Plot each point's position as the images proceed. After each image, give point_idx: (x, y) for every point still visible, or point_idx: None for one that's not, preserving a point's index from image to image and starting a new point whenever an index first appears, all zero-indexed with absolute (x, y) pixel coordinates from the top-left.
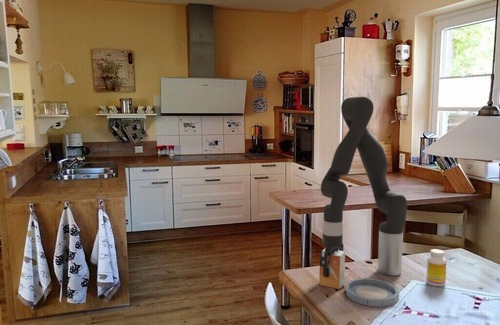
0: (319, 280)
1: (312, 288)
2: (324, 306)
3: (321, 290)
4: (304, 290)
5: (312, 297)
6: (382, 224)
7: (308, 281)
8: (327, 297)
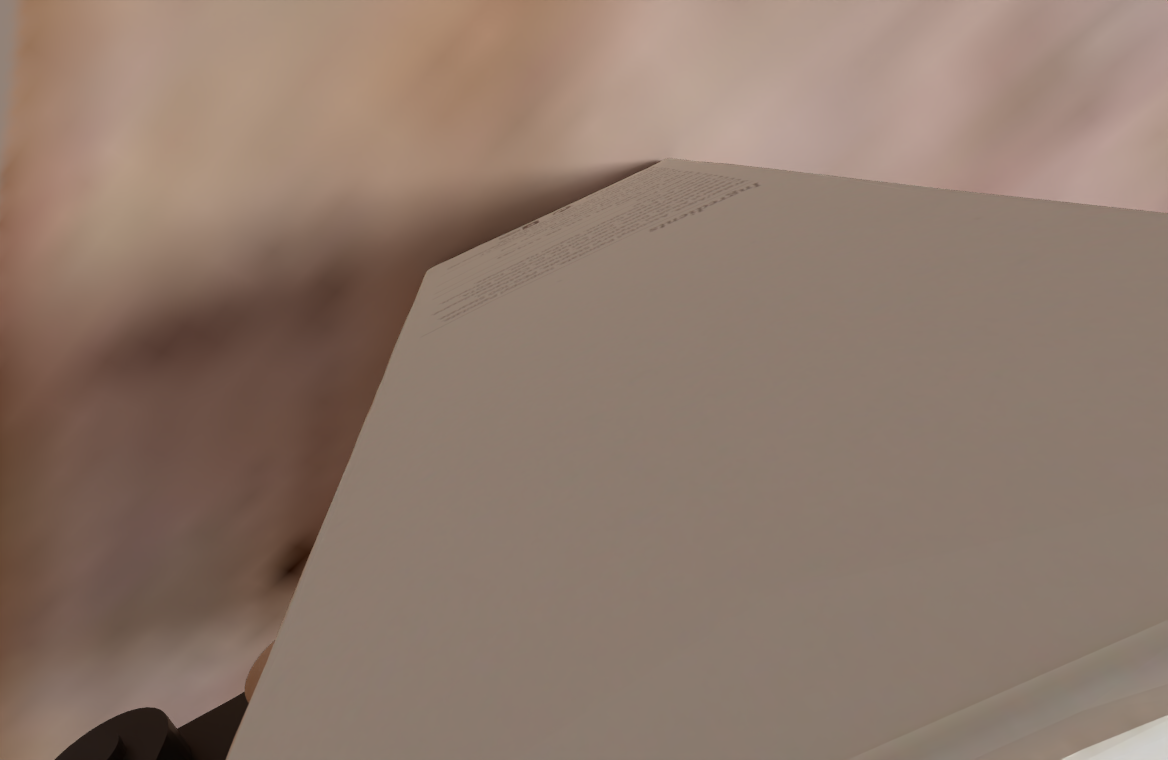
0: (418, 292)
1: (241, 292)
2: (74, 728)
3: (330, 419)
4: (52, 270)
5: (52, 510)
6: None
7: (362, 17)
8: (264, 597)
